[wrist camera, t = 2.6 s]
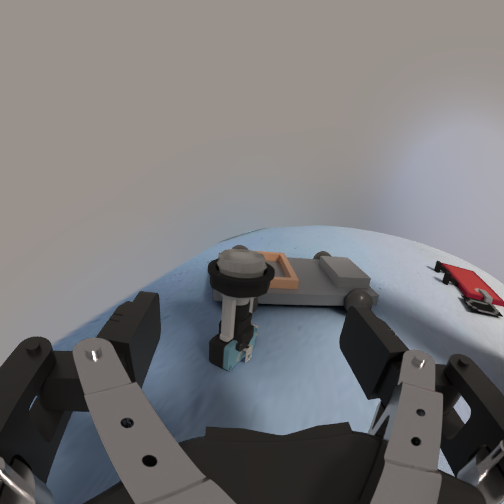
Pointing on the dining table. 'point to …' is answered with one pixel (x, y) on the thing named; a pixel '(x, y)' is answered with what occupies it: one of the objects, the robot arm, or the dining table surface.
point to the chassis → (314, 282)
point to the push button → (237, 303)
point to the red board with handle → (471, 288)
